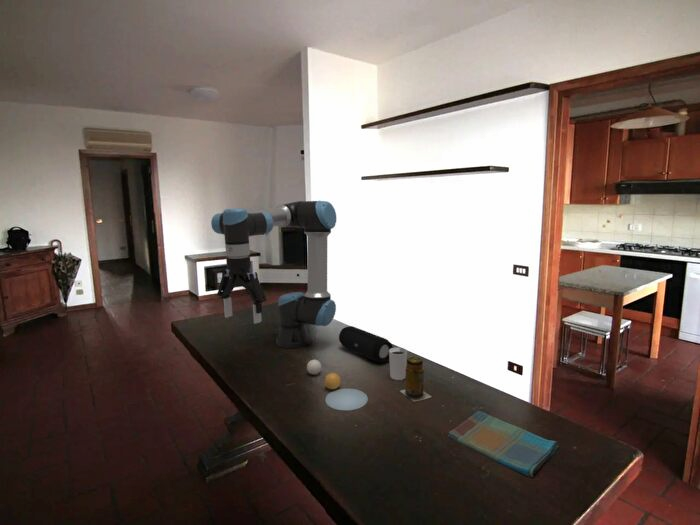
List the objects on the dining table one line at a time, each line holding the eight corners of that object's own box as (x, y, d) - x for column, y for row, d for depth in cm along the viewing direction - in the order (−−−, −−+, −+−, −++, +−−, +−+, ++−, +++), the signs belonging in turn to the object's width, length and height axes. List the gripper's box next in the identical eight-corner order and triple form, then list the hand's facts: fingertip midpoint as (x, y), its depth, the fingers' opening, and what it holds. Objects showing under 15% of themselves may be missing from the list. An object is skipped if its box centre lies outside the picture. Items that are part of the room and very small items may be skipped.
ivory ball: (312, 369, 153) (311, 356, 152) (324, 372, 150) (323, 358, 149) (304, 375, 148) (303, 361, 147) (316, 378, 145) (316, 364, 144)
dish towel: (532, 482, 92) (532, 472, 91) (446, 439, 109) (446, 430, 108) (559, 449, 103) (560, 440, 103) (477, 415, 120) (478, 407, 120)
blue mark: (338, 385, 139) (338, 385, 139) (374, 394, 133) (374, 393, 133) (317, 404, 127) (317, 403, 127) (356, 414, 120) (355, 414, 120)
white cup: (409, 374, 147) (409, 348, 145) (403, 381, 141) (404, 355, 140) (392, 371, 150) (392, 346, 148) (386, 378, 144) (386, 352, 142)
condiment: (417, 386, 138) (417, 354, 136) (432, 397, 130) (432, 363, 128) (399, 391, 134) (399, 358, 132) (413, 402, 127) (414, 367, 125)
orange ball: (330, 383, 141) (329, 369, 140) (343, 386, 138) (343, 372, 137) (322, 390, 136) (321, 375, 135) (335, 393, 134) (335, 378, 133)
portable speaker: (337, 349, 173) (337, 327, 172) (354, 343, 179) (354, 322, 178) (377, 367, 154) (376, 343, 152) (394, 360, 160) (394, 337, 158)
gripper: (203, 255, 130) (208, 317, 134) (258, 261, 117) (262, 328, 121) (221, 252, 137) (225, 311, 140) (275, 257, 124) (278, 321, 127)
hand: (242, 319), depth 131 cm, fingers open, 13 cm apart
